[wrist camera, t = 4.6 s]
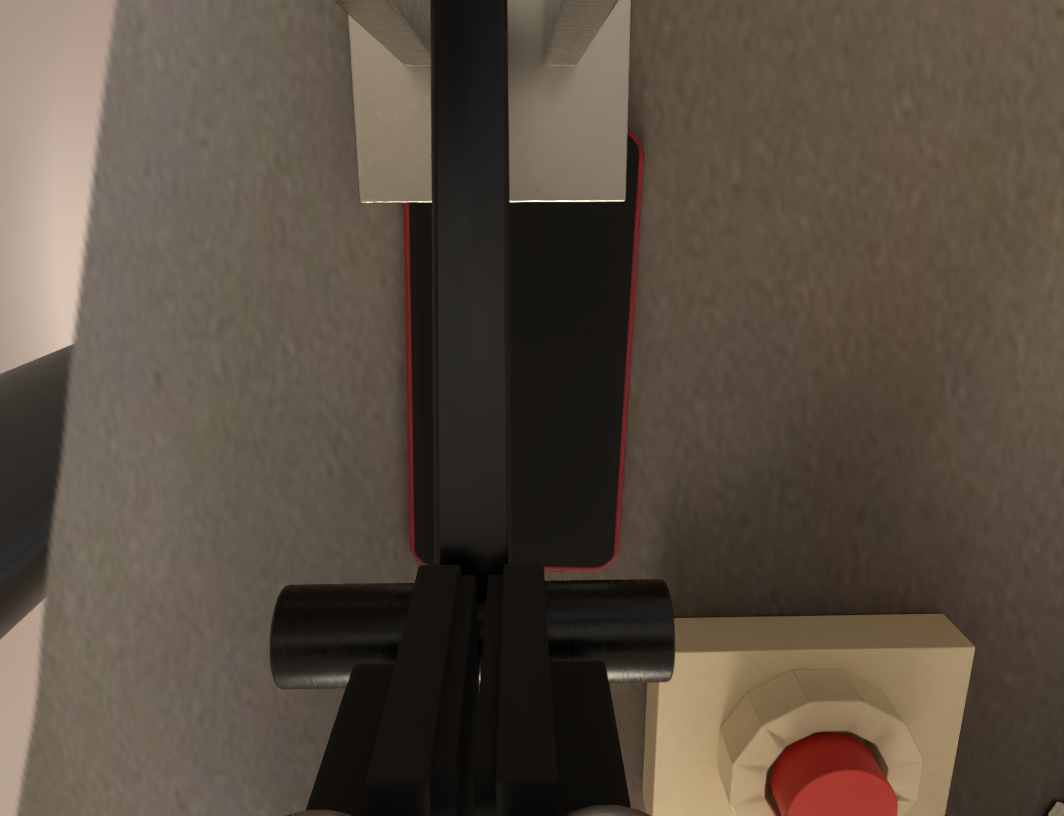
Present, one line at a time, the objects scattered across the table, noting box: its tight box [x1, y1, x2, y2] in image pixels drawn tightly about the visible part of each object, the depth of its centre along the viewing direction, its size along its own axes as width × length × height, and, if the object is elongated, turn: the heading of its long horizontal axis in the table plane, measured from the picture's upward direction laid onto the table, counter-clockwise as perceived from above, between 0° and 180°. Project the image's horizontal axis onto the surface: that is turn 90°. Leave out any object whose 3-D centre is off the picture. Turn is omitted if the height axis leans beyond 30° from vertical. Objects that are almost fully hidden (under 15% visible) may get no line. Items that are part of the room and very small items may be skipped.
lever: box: [270, 0, 675, 689], centre depth 12 cm, size 14×6×2 cm, turn 0°
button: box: [771, 733, 898, 816], centre depth 27 cm, size 4×4×2 cm
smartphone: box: [404, 130, 644, 570], centre depth 27 cm, size 7×1×15 cm
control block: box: [642, 614, 975, 816], centre depth 29 cm, size 11×8×4 cm
